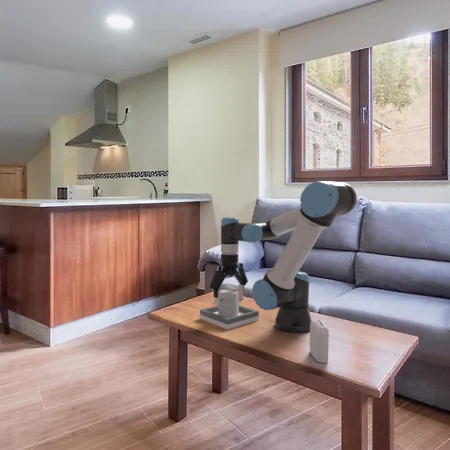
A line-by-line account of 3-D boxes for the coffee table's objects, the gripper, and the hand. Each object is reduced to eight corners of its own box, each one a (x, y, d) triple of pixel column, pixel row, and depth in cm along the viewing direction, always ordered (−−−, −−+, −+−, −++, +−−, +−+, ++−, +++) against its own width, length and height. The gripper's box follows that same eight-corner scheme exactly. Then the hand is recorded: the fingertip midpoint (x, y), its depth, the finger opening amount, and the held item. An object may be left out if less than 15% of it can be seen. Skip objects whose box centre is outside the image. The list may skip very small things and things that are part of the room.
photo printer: (308, 350, 133) (308, 315, 132) (320, 350, 133) (321, 315, 132) (316, 363, 123) (317, 325, 122) (329, 363, 123) (330, 325, 122)
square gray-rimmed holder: (258, 320, 166) (258, 311, 165) (227, 329, 154) (227, 319, 153) (230, 310, 179) (230, 302, 179) (200, 318, 167) (200, 309, 167)
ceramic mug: (230, 304, 191) (230, 288, 190) (220, 300, 197) (220, 285, 197) (246, 301, 197) (247, 286, 197) (236, 297, 204) (237, 283, 203)
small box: (238, 314, 167) (239, 290, 167) (236, 318, 162) (236, 293, 161) (221, 312, 169) (221, 289, 169) (217, 316, 164) (218, 292, 163)
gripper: (244, 249, 175) (243, 295, 177) (201, 255, 159) (201, 305, 160) (256, 251, 170) (255, 298, 171) (212, 257, 153) (212, 309, 155)
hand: (229, 302), depth 166 cm, fingers open, 13 cm apart
